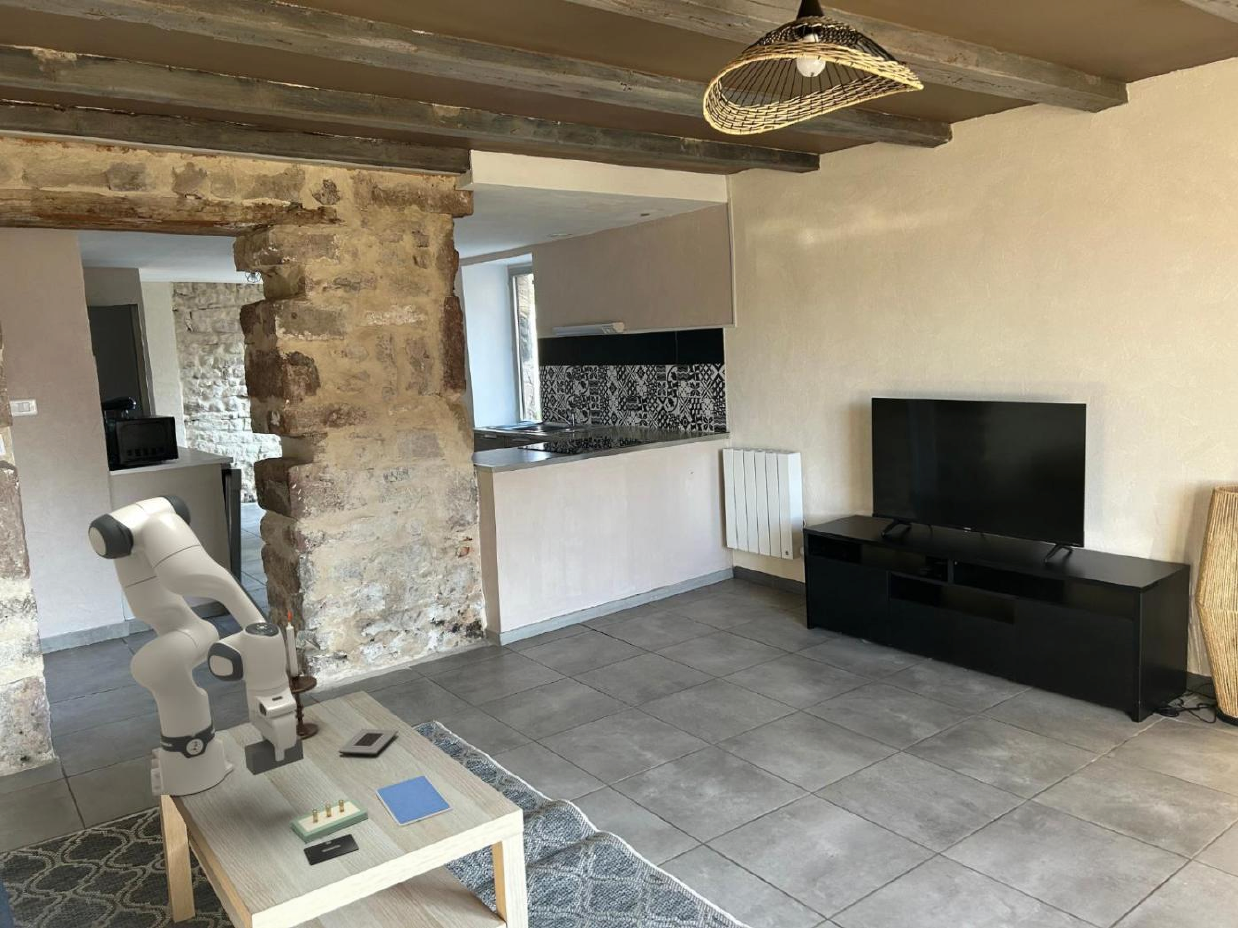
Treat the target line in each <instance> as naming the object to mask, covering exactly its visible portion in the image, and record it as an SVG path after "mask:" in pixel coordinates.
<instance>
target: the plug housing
mask: <svg viewBox="0 0 1238 928" xmlns="http://www.w3.org/2000/svg"><path fill="white" fill-rule="evenodd" d="M303 749H304V747H303V740H302V738H301V737H300V736H299V735H298V734H296V743H295V746H293V747H291V748H288V749H285V750H284V759H283V760H280V761H276V760H275V758H274V752H275V747H274V745H273V744H272V743H271V742H270V741H269V740H268V739H267V740H264V741H263V740H261V741H257V742H255V743H252V744H248V745H245V746H244V756H245V764H246V765H245V766H246V767H245V768H246V769H247V770H248V771H249V772H250V773H251V774H252V775H253V776H257V775H260V774H263V773H266V772H269V771H271V770H275V769H278V768H281V767H284V766H287V765H289V764H292V763H296V762H299V761H301V760H305V757H304V750H303Z"/></svg>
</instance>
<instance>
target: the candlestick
mask: <svg viewBox="0 0 1238 928" xmlns="http://www.w3.org/2000/svg"><path fill="white" fill-rule="evenodd" d="M290 612H291V611H290V610H288V612H287V613H286V614H287V626H286V627H285V631H286V640H287V641H286V642H287V646H288V647H287V649H288V657H289V666H290V673H289V674H287V676H288V681H289V687H290V691H291V694H292V696H294V699H295V701H296V705H297V709H296V710H295V711H294V713H295V719H296V720H297V721H296V722H297V723H296V734H298V735H299V736H300V737H301V738H302V741H303V740H307V739H310V738H312V737H314V736H316V735H317V734H318V733H319V731H320V730H319V725H317V724H316V723H313V722H311V723H310V722H307V723H304V720H303V719H304V717H305V713H303V711H304V708H305V705H304V704H302V703H301V702H302V701H301V695H300V694H302V693H306V692H309V691H311V690H313V689H314V688H316V687H317V685H318V680H317V678H316V677H314V676H310V675H303V674H304V673H303V672H301V671H299V667H298V666H299V665H298V658H297V657H298V656H297V650H296V649H297V646H296V639H295V631H294V626H292V624H291V613H290Z"/></svg>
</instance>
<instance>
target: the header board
mask: <svg viewBox="0 0 1238 928" xmlns="http://www.w3.org/2000/svg"><path fill="white" fill-rule="evenodd" d="M368 815H369V814H368V811H367V810H366V809H365V808H363V807H362V806H361V805H360V804H359V803H358V802H357V801H355V799H353V798H352V797H349V798H346V799H339V800H338V802H335V803H333V804H326V805H325V807H322V808H320V809H318V810H317V809H314V810H312V812H310V813H307V814H304V815H301V816H299V817H297V818H294V819H291V820H290V827H291V829H292V830H294V831H295V832H296V833H297V835H298V836H299V837H300V838H301V839H302V840H303V841H304V842H305V843H306V844H308V843H310V842H313V841H315V840H317V839H320V838H322V837H325V836H327V835H329V834H331V833H334V832H335V833H336V832H338V831H340V830H343V829H345V828H348V827H349V826H352V825H354V824H357V823H359V822H362V821H364V820H367V819H368V818H369V816H368Z"/></svg>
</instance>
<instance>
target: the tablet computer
mask: <svg viewBox="0 0 1238 928" xmlns="http://www.w3.org/2000/svg"><path fill="white" fill-rule="evenodd" d="M375 795H376V796H377V797H378V799H379V800H380V802H381V804H382V805H383V807H384V808H385V810H387V812H388V813H389V815H390V817H391V818H392V819H393V821H394V822H395V825H396V826H397V827H398V828H404V827H408V826H410V825H414V824H417V823H419V822H422V821H427V820H429V819H431V818H435V817H438V816H441V815H444V814H446V813H450V812H452V811H453V807H452V805H451V804H450V803H449V802H448V800H447V799H446V798H445V797H444V796H443V795H442V793H441V792H440V791H439V790H438V789H437V788H436V786H435V785H434V783H432V782H431V780H430V779H429V778H428V777H427V776H426V775H419V776H416V777H412V778H410V779H407V780H404V781H400V782H397V783H394V784H390V785H387V786H384V787H380V788H378V789H376V790H375Z"/></svg>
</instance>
